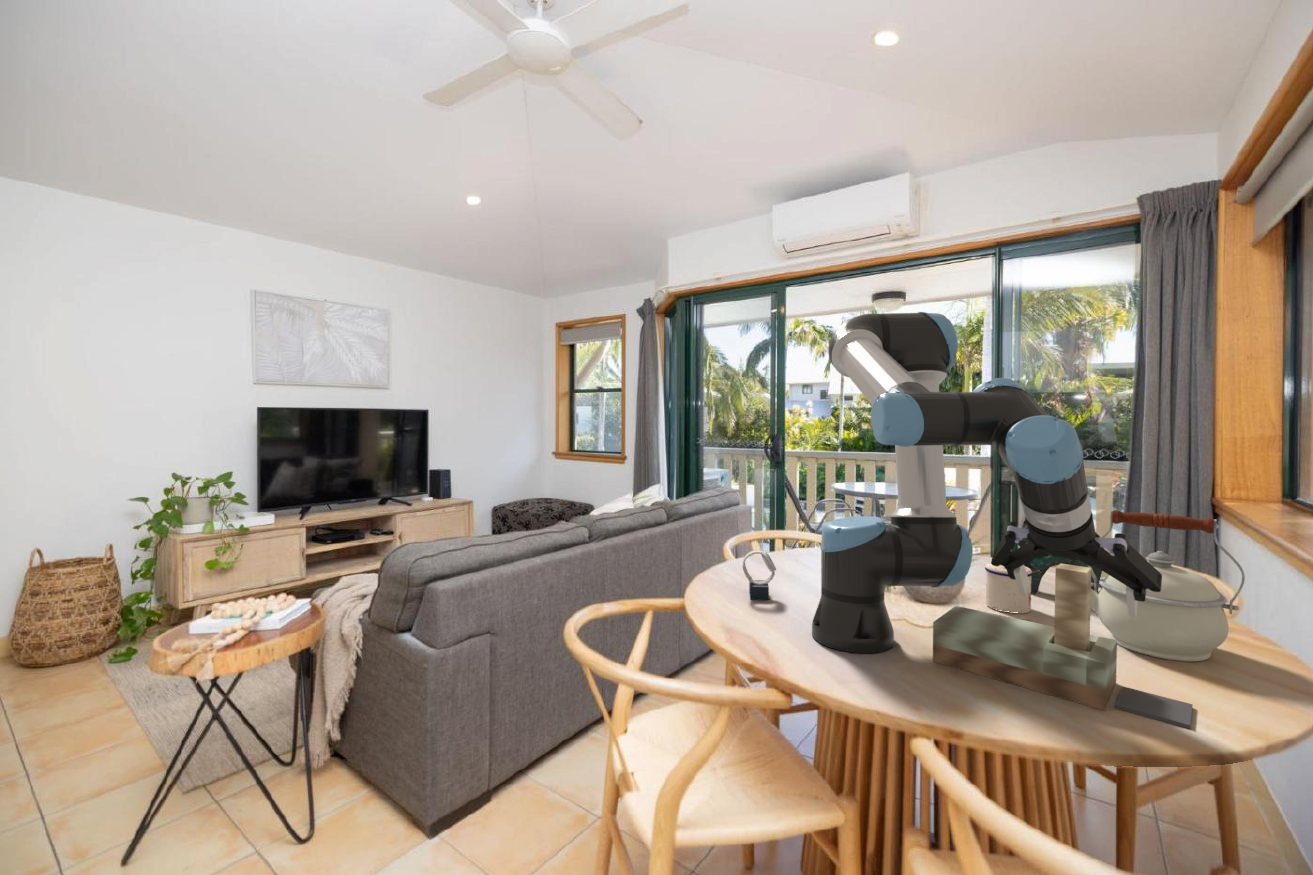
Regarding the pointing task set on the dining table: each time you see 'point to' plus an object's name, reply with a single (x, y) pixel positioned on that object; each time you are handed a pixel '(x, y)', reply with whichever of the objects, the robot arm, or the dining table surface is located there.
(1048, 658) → the green block with hole
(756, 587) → the watch
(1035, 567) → the ceramic cat
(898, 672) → the dining table surface
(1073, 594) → the wooden block
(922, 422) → the robot arm
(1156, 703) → the rubber mat
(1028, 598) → the teacup with lid
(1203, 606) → the kettle
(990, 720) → the dining table surface
